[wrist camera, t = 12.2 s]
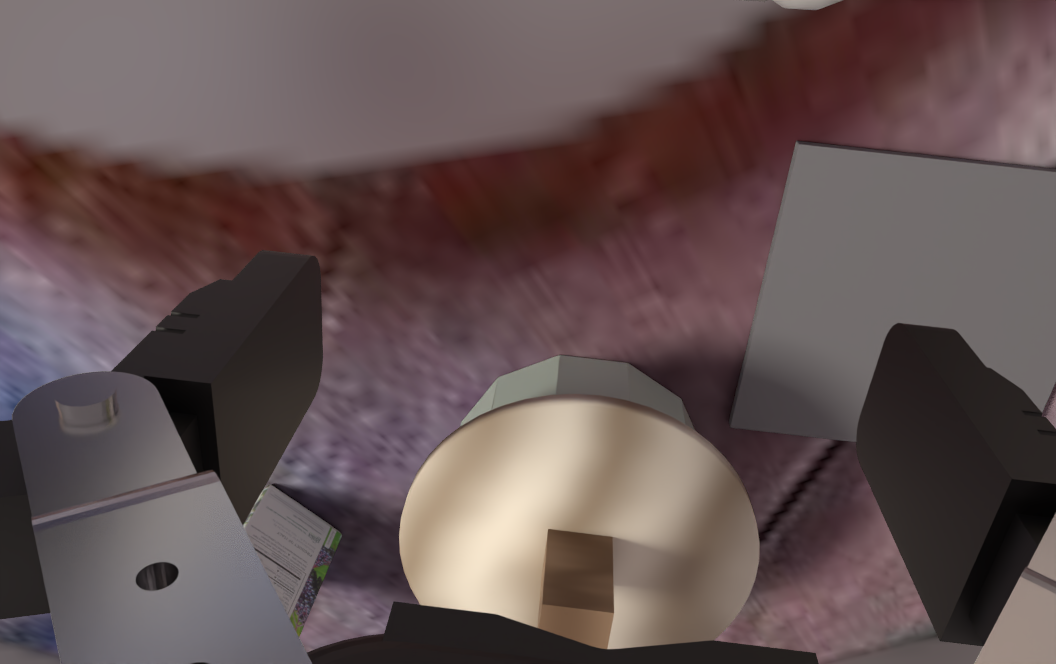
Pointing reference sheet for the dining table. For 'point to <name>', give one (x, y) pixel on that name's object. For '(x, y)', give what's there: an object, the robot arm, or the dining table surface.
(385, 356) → the dining table surface
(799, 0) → the salt shaker
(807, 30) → the dining table surface
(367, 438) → the dining table surface
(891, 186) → the mat
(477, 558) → the lid
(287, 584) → the syrup box
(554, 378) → the bowl
